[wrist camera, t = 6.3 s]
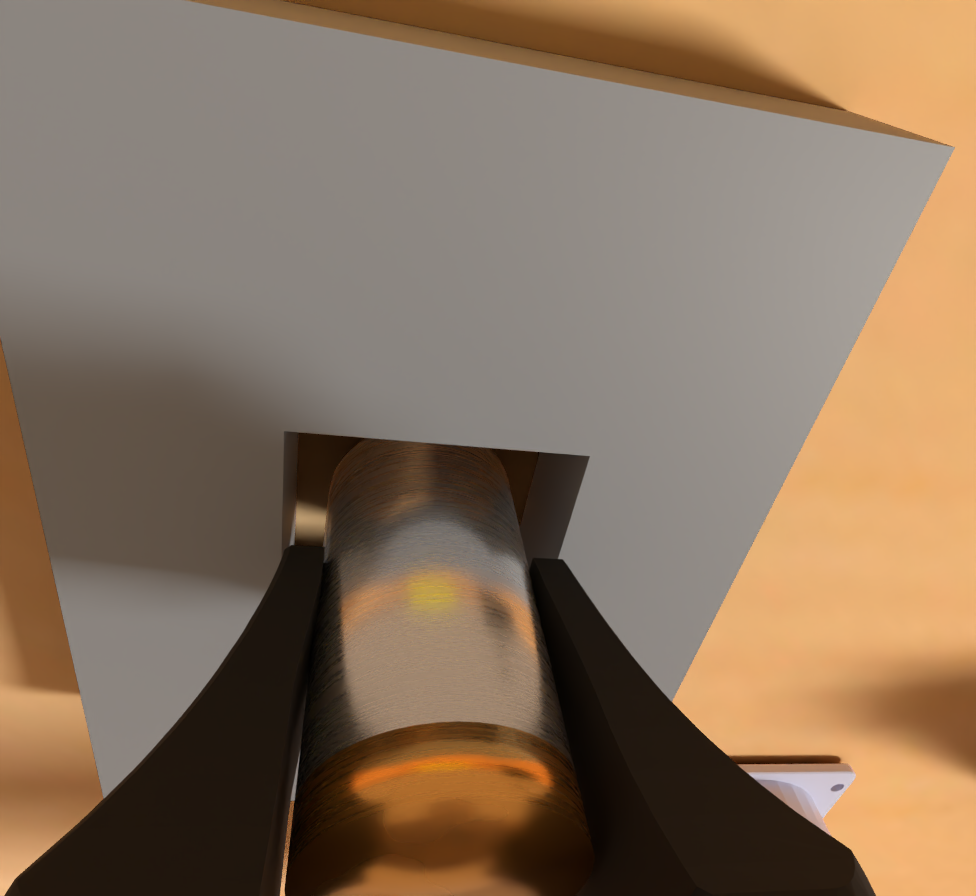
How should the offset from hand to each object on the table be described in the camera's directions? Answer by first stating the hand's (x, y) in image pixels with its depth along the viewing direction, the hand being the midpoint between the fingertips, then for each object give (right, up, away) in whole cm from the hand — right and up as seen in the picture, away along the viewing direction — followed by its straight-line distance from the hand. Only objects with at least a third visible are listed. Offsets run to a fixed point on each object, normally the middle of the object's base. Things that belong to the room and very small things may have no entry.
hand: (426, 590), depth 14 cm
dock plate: (0, +2, +3) cm, 4 cm away
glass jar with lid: (0, +2, +2) cm, 3 cm away
